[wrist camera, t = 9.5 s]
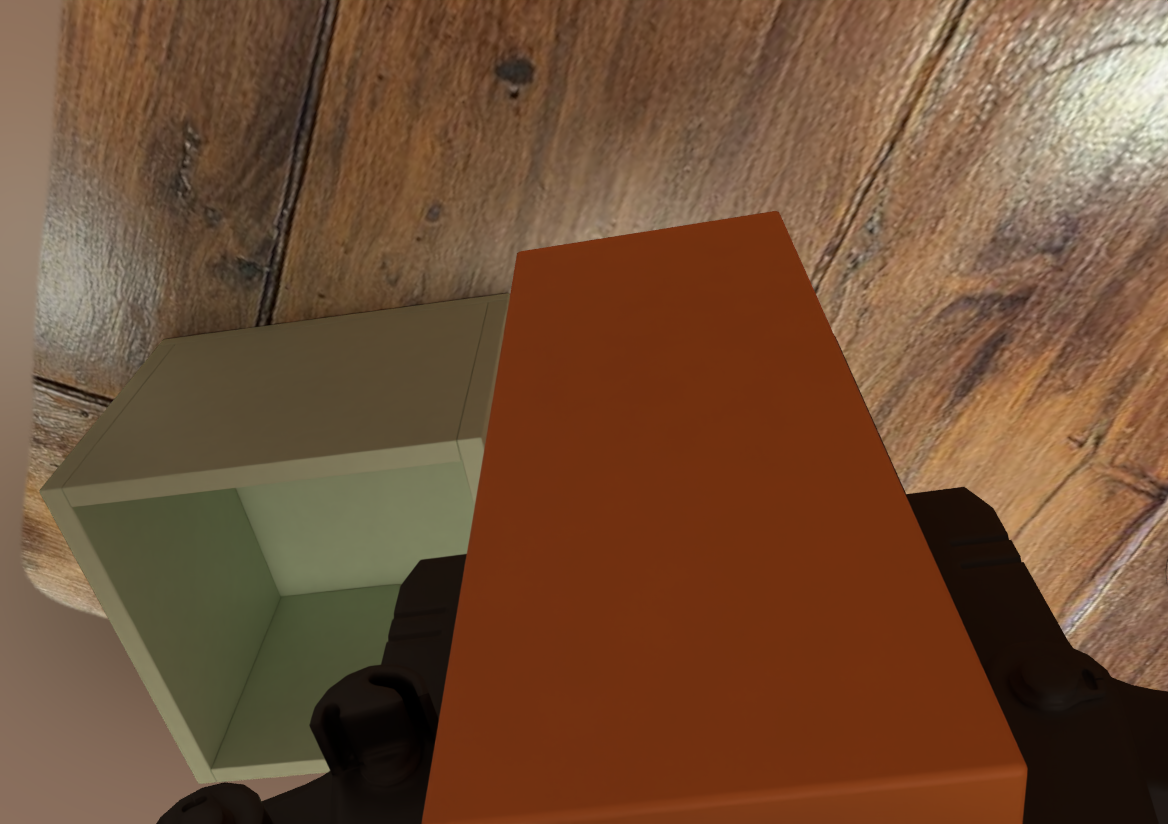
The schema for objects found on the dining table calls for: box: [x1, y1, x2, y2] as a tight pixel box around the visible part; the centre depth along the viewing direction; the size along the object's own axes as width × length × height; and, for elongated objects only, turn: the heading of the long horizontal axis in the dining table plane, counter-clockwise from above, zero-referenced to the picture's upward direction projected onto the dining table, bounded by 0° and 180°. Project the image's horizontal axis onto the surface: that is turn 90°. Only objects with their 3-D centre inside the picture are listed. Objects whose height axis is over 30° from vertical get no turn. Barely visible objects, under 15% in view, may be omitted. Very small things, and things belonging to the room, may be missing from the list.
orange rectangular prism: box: [422, 211, 1028, 824], centre depth 12 cm, size 4×7×10 cm, turn 10°
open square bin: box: [40, 293, 510, 784], centre depth 39 cm, size 15×15×11 cm
